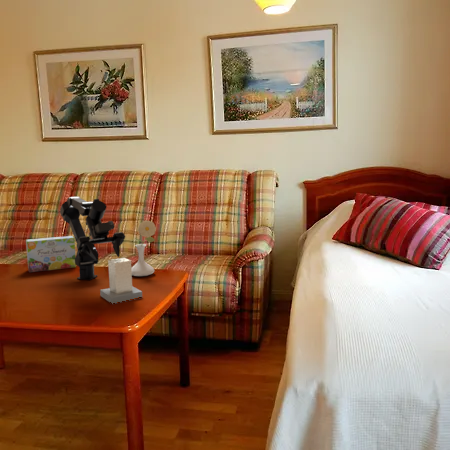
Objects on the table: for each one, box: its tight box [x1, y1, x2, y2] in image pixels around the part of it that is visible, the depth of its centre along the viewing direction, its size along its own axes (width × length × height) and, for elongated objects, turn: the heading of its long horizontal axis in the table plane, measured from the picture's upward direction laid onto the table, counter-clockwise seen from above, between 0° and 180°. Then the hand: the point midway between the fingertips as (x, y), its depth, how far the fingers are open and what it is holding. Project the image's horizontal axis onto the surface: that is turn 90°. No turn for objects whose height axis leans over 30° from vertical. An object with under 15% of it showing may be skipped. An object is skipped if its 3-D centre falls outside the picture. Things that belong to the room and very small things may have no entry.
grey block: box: [99, 285, 143, 305], centre depth 170 cm, size 12×12×3 cm
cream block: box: [107, 257, 133, 294], centre depth 168 cm, size 6×6×12 cm
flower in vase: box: [131, 220, 157, 277], centre depth 199 cm, size 13×11×25 cm
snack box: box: [25, 235, 77, 273], centre depth 212 cm, size 21×6×15 cm, turn 117°
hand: (107, 258), depth 175 cm, fingers open, 9 cm apart
